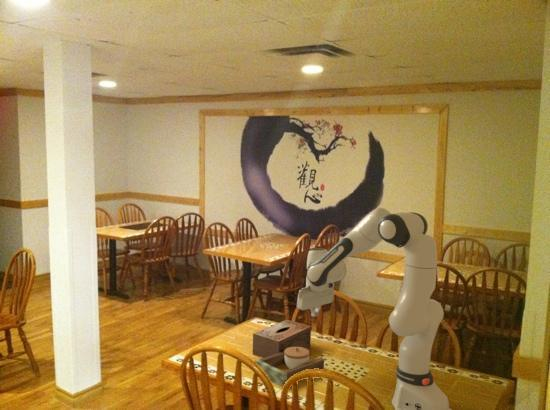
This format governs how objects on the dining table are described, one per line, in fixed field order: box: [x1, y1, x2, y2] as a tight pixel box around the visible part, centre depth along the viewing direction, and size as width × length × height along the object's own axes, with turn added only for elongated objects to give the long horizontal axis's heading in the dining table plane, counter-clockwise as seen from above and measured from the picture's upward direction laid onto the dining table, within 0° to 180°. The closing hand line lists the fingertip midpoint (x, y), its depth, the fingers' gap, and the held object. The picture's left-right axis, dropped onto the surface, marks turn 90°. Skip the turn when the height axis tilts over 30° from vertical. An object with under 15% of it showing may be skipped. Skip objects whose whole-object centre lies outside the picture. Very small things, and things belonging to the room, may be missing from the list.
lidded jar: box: [284, 347, 310, 370], centre depth 210 cm, size 11×11×9 cm
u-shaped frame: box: [254, 351, 325, 388], centre depth 208 cm, size 17×24×5 cm
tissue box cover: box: [252, 319, 312, 359], centre depth 230 cm, size 26×14×10 cm, turn 143°
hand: (314, 315), depth 216 cm, fingers closed
